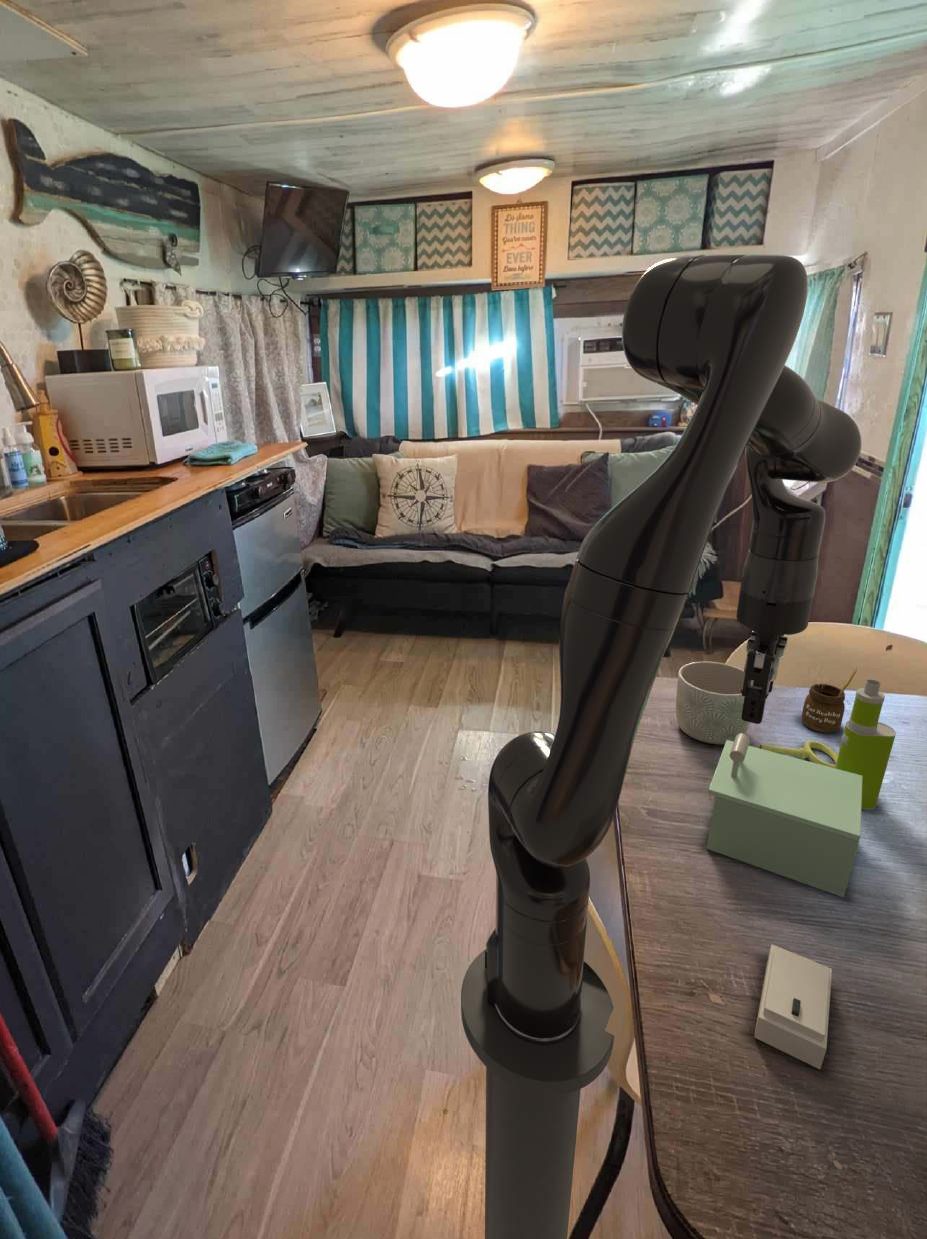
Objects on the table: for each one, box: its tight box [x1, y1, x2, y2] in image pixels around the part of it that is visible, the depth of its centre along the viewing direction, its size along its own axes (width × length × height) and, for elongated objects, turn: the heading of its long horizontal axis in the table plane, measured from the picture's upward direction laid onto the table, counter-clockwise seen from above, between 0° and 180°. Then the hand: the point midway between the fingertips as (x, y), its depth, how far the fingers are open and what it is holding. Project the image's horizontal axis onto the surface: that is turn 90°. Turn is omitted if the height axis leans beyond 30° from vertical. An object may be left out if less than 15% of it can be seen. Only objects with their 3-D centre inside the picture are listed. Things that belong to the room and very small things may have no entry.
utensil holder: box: [800, 666, 858, 734], centre depth 112 cm, size 6×6×12 cm
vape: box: [835, 679, 897, 810], centre depth 92 cm, size 4×6×20 cm, turn 79°
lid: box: [707, 733, 863, 842], centre depth 85 cm, size 16×14×5 cm
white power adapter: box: [753, 944, 833, 1070], centre depth 66 cm, size 10×6×4 cm, turn 144°
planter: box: [675, 660, 754, 745], centre depth 112 cm, size 12×12×11 cm
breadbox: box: [706, 796, 860, 898], centre depth 87 cm, size 16×14×9 cm
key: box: [758, 740, 838, 768], centre depth 104 cm, size 7×12×2 cm, turn 98°
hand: (756, 705), depth 82 cm, fingers open, 8 cm apart
